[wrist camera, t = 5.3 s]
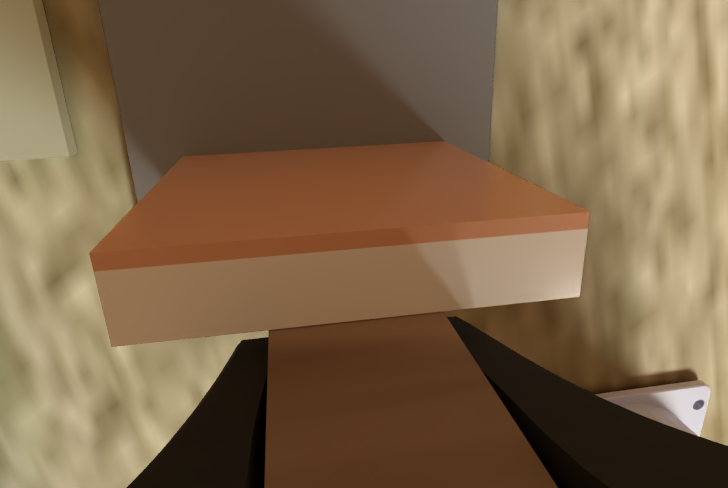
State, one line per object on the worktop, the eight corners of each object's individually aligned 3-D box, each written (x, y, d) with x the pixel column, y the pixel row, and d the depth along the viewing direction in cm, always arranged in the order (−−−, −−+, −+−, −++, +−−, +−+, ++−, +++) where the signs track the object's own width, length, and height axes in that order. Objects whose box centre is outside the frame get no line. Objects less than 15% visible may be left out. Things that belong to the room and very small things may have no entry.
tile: (443, 190, 17) (578, 297, 9) (191, 208, 15) (111, 347, 8) (444, 141, 16) (590, 211, 9) (182, 156, 15) (89, 252, 7)
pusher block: (401, 356, 13) (571, 762, 5) (282, 371, 12) (291, 830, 5) (400, 246, 12) (610, 565, 4) (270, 258, 11) (260, 630, 4)
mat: (476, 295, 19) (480, 300, 18) (165, 327, 17) (163, 333, 17) (507, -266, 13) (514, -275, 13) (45, -293, 11) (38, -304, 11)
